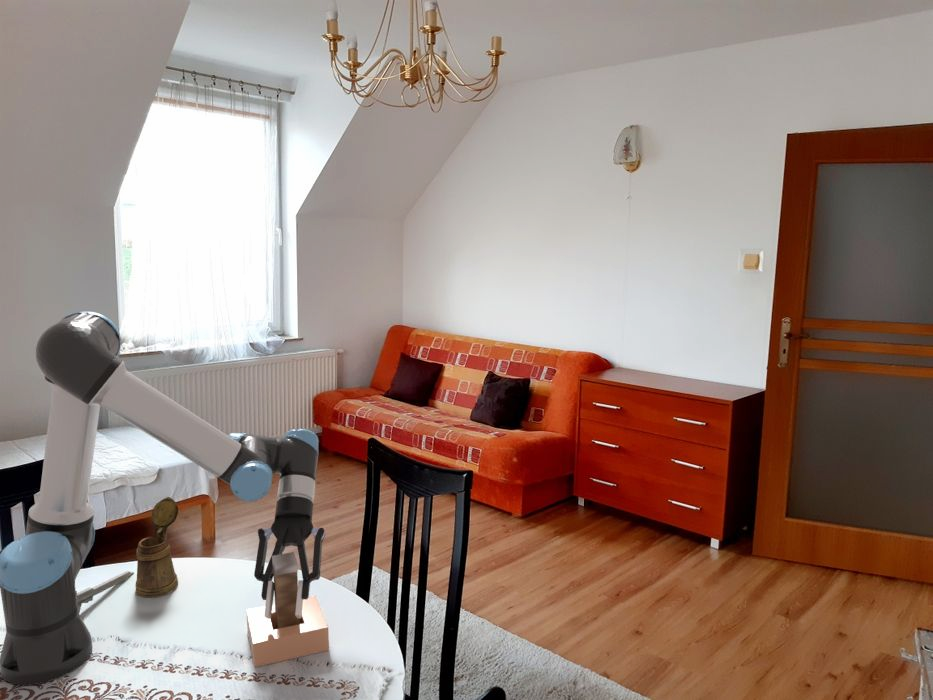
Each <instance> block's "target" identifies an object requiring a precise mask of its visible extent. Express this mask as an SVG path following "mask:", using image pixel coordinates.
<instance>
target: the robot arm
mask: <svg viewBox="0 0 933 700" xmlns="http://www.w3.org/2000/svg"><path fill="white" fill-rule="evenodd" d="M121 339H122V337H121V334H120V331H119V328H118V327H117V325H116V324H115V322H113V321H112V320H111V319H110V318H108V317H107V316H105V315H104V314H101V313H98V312H95V311H78V312H73V313H69V314H68V315H65V316H64V317H63V318H61V319H60V320H59V321H58V322H56V323H55V324H52V325H51V326H49V327H48V328H46V330H45V331H44V332H42V333H41V335H40V337H39V339H38V340H37V343H36V346H35V360H36V363H37V365H38V368H39V369H40V370H41V372H42V373H43V375H44V381H45V383H47V384H48V386H49V387H51V389H52V391H51V399H50V406H49V407H50V408H49V414H48V423H47V431H46V439H45V447H44V456H43V463H42V474H41V481H40V489H39V496H38V502H36V503H34V504H33V505H32V506H30V508H29V510H28V513H27V522H26V529H25V535H24V536H21V537H19V538H18V540H14V541H12V542H10V543H9V544H7V545H6V546H5V547H4V548H3V549H2V551H1V552H0V596H1V602H2V603H1V604H2V608H3V609H2V610H3V615H4V616H3V617H4V623H5V631H6V632H5V637H4V640H3V644H2V648H1V652H0V676H1V678H2V679H3V680H4V679H5V680H6V682H7V681H8V682H7V683H9V682H11V683H10V684H12V683H13V684H12V685H17V684H20V685H19V686H30V685H29V684H32V685H39V684H43V683H47V682H50V681H55V680H57V679H59V678H62V677H63V676H66V675H68V674H69V673H71V672H73V671H75V670H76V669H77V668H80V667H81V666H82V665H83V664H85V662H87V660H88V659H89V658H90V656H91V654H92V652H93V639H92V634H91V633H90V631H89V629H88V627H87V626H86V624H85V622H84V621H83V619H82V617H81V615H80V613H78V608H77V599H76V591H77V589H76V578H77V577H78V575H79V573H80V571H81V569H82V566H83V564H84V562H85V560H86V558H87V556H88V554H89V553H90V551H91V549H92V547H93V545H94V542H95V535H96V529H95V524H94V518H95V517H94V515H95V509H94V506H92V505H91V504H90V503H89V502H88V500H89V499H88V498H89V492H90V484H91V476H92V471H93V470H92V469H93V461H94V455H95V453H94V452H95V446H96V441H97V440H96V438H97V433H98V432H97V431H98V426H99V417H100V409H101V407H103V408H104V409H105V410H107V411H109V412H110V413H112V414H113V415H116V417H118V418H120V419H122V420H124V421H126V422H127V423H129V425H132V426H133V427H135V428H136V429H139V430H140V431H141V432H143V433H145V434H146V435H148V436H150V438H151V437H152V438H153V439H154V440H156V441H158V442H160V443H161V444H162V445H165V446H166V447H167V448H169V449H171V450H173V451H174V452H175V453H177V454H179V455H180V456H182V457H184V458H186V459H187V460H189V461H190V462H192V463H194V464H195V465H197V466H199V467H200V468H202V469H203V470H205V471H207V472H208V473H210V474H212V475H214V476H215V477H216V478H218V479H220V481H221V480H222V481H223V482H224V483H226V484H228V485H229V486H230V489H231V491H232V493H233V494H234V496H235V497H236V498H238V499H239V500H241V501H244V502H249V503H250V502H255V501H256V502H257V501H259V500H261V499H262V498H264V497H265V496H267V494H268V493H269V491H270V489H271V486H272V482H273V476H274V475H273V474H279V480H278V489H277V496H276V497H277V501H276V504H275V505H276V506H275V512H274V513H275V514H274V521H273V522H272V524H271V525H270V527H266V528H264V529H263V528H261V527H260V528H258V529H257V534H258V535H257V536H258V545H257V547H258V548H257V554H256V560H255V566H254V567H255V568H254V573H253V574H254V575H253V576H254V578H255V579H256V580H257V581H259V582H261V583H262V589H261V599H262V601H265V605H264V606H265V613H264V616H265V617H266V618H267V619H271V614H272V605H273V604H274V603H273V602H274V598H275V595H274V575H273V566H272V556H274V555H280V554H284V551H285V549H286V547H291V546H293V547H297V552H298V553H297V554H298V557H299V563H300V564H299V565H300V569H301V570H300V571H301V576H302V580H298V591H297V602H296V612H295V616H296V617H297V618H301V616H302V606H303V599H308V597H310V588H311V583H312V582H313V581H318V580H320V578H321V569H322V567H321V565H322V552H323V551H322V549H323V548H322V547H323V542H324V541H325V536H326V535H327V534H326V531H325V529H324V527H315V526H314V524H313V513H314V512H313V511H314V503H313V501H314V500H315V492H316V478H317V468H318V460H319V437H318V436H317V434H316V433H315V432H314V431H312V430H309V429H305V428H298V429H295V428H294V429H290V430H288V431H286V433H285V434H284V437H281V438H280V437H271V436H266V435H265V436H263V435H255V434H249V433H246V432H244V433H242V432H230V433H229V434H226V433H225V432H223V431H222V430H220V429H218V428H217V427H215V426H214V425H212V424H211V423H209V422H208V421H206V420H205V419H202V418H201V417H199V416H198V415H197V414H195V413H194V412H192V411H191V410H189V409H187V408H186V407H185V406H183V405H181V404H179V403H178V402H176V401H175V400H174V399H172V398H170V397H168V396H167V395H166V394H164V393H162V392H161V391H159V390H158V389H156V388H154V387H153V386H151V385H150V384H148V383H147V382H146V381H144V380H143V379H141V378H140V377H137V376H136V375H134V374H133V373H131V372H130V371H129V370H127V368H126V364H125V361H124V360H122V359H120V358H119V357H117V356H118V355H119V352H120V350H121V347H122V346H121V345H122V341H121ZM272 534H273V535H274V537H275V538H276V542H275V545H274V549H273V551H272V553H271V556H270V559H269V561H268V564H267V566H266V570H265V565H266V558H267V552H268V540H270V539H271V535H272ZM310 535H312V537H313V539H314V541H313V557H312V571H311V572H310V570H309V569H310V568H309V564H308V557H307V552H306V544H305V542H306V540H307V539H308V538H309V537H310ZM5 680H4V681H5ZM42 682H43V683H42ZM38 683H39V684H38ZM26 684H28V685H26Z"/></svg>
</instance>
